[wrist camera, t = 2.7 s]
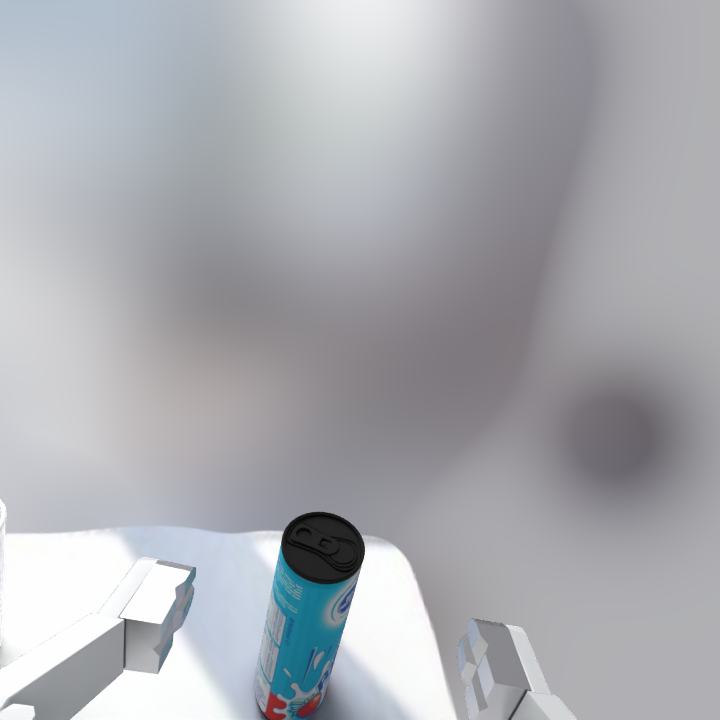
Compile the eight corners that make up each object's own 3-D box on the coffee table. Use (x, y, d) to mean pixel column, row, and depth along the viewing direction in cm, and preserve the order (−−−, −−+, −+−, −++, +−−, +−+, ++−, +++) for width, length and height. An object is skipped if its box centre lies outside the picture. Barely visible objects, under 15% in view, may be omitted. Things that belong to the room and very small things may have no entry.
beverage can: (295, 753, 25) (337, 599, 20) (236, 694, 27) (263, 545, 23) (338, 675, 30) (378, 538, 26) (285, 631, 32) (314, 500, 28)
